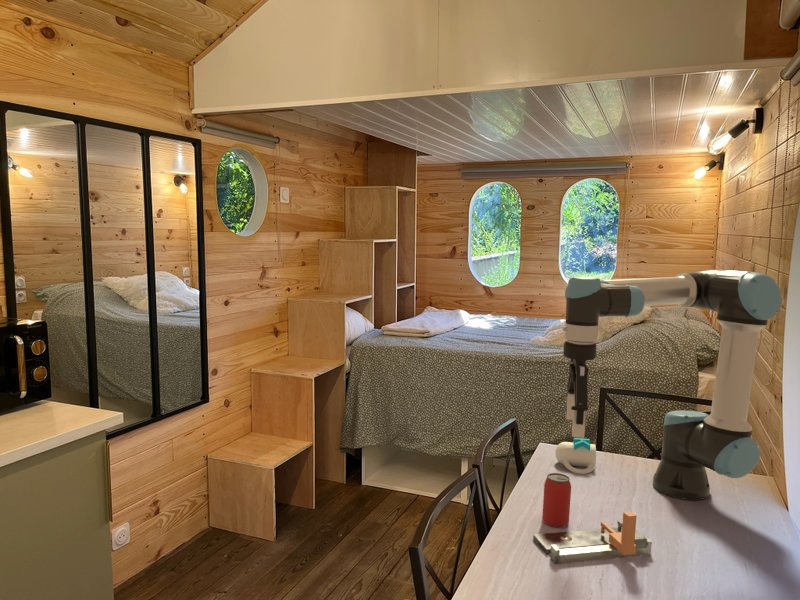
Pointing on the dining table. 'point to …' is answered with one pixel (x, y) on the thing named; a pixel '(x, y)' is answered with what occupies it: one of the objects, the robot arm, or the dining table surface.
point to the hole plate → (573, 539)
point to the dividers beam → (599, 550)
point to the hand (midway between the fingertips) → (574, 427)
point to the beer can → (556, 500)
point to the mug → (577, 455)
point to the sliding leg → (623, 534)
